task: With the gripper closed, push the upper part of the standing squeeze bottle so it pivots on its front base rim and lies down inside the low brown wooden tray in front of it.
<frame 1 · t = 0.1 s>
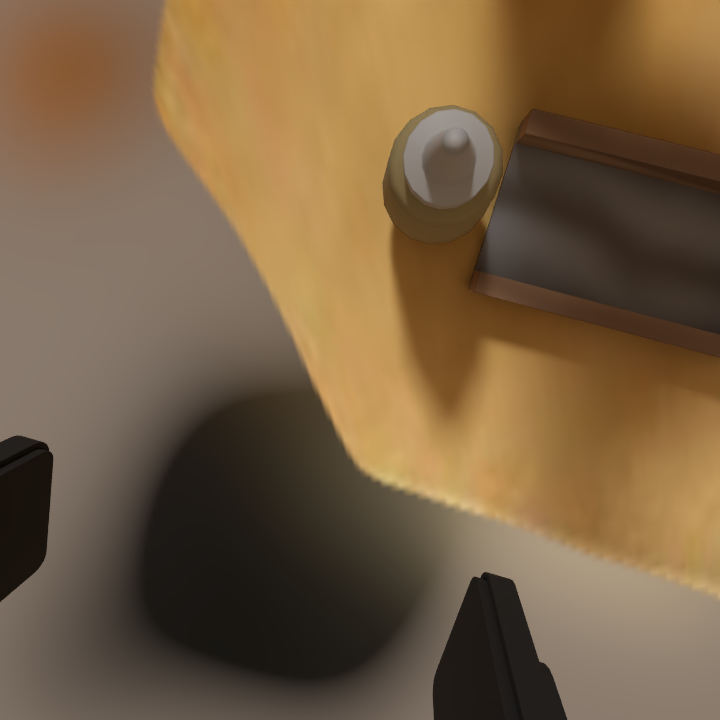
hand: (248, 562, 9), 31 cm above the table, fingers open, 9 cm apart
brown wooden tray: (626, 243, 36), on the table
squeeze bottle: (433, 194, 36), on the table
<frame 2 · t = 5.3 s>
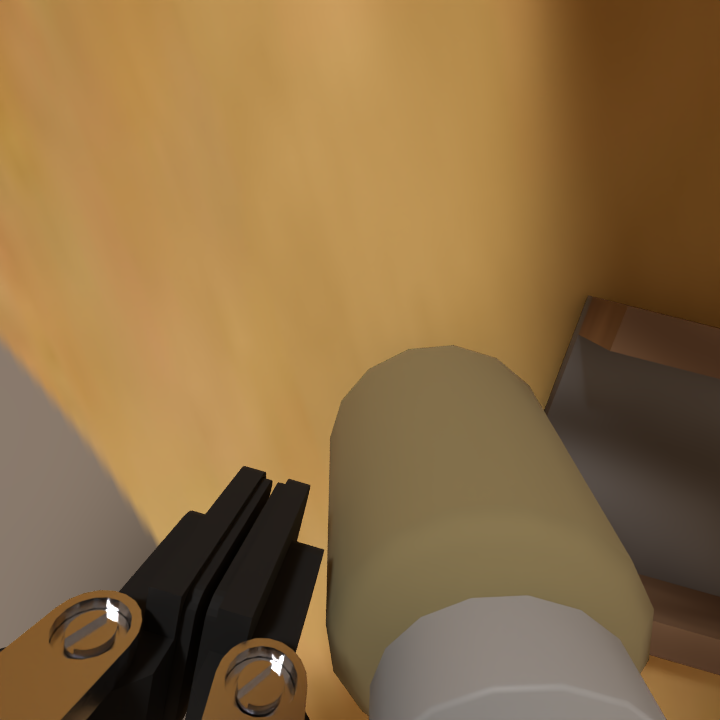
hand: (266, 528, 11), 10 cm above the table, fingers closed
squeeze bottle: (426, 408, 20), on the table, touching gripper
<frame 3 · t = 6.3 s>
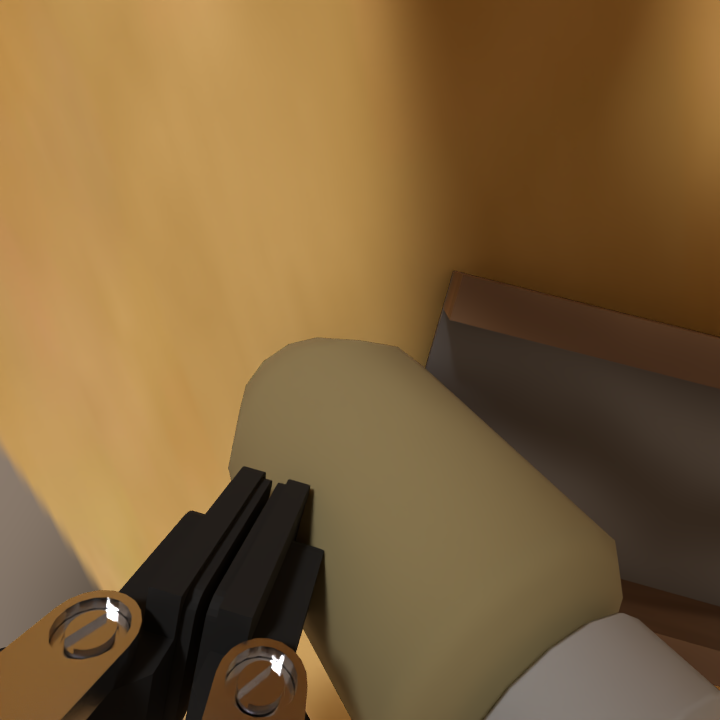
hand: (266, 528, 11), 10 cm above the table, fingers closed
brown wooden tray: (652, 477, 20), on the table
squeeze bottle: (307, 399, 19), point 2 cm above the table
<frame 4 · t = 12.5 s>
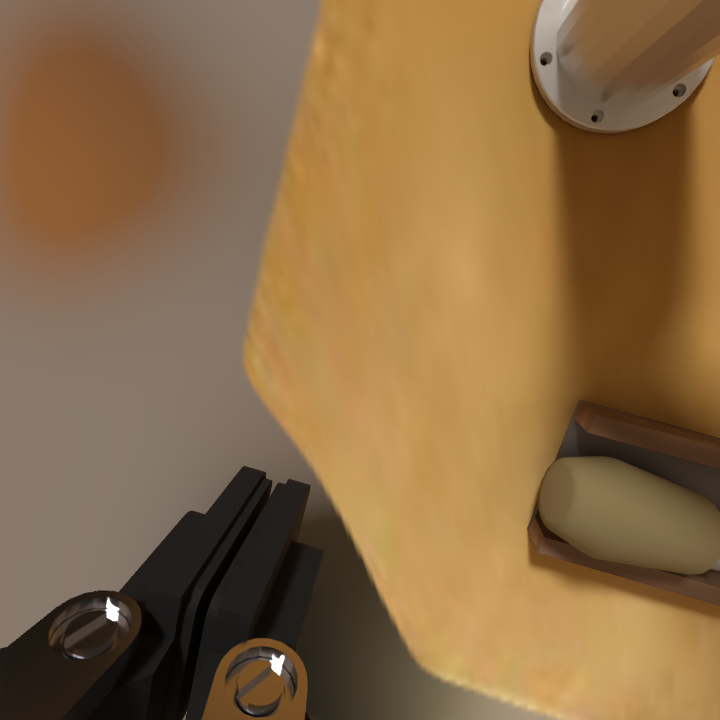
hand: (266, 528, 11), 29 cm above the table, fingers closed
brown wooden tray: (673, 500, 39), on the table
squeeze bottle: (553, 492, 35), point 5 cm above the table, touching brown wooden tray
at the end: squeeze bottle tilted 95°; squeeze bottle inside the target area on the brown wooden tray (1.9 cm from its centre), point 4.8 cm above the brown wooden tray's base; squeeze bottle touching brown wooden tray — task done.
